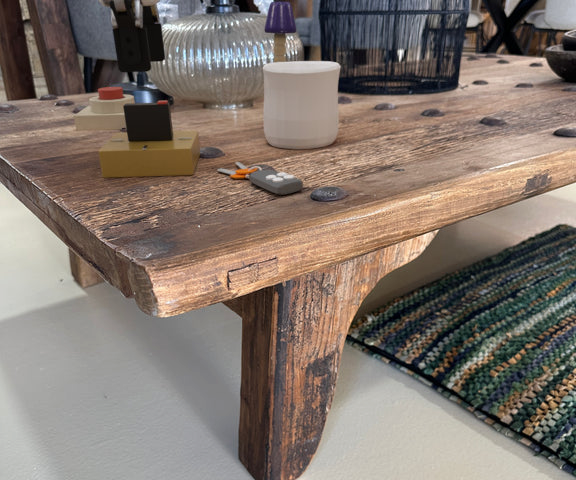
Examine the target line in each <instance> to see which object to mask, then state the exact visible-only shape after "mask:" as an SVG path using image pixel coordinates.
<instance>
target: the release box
mask: <svg viewBox="0 0 576 480" xmlns="http://www.w3.org/2000/svg"><path fill="white" fill-rule="evenodd" d="M123 96H124V98H122V99H116V100H100V99H99V95H97V96H92V97H90V98H89V99H88V104H89V105H87V106H86V107H84V108H83V109H82V110H80V111H79V112H77V113H75V114H74V115H73V120H74V127H75V131H106V130H107V131H110V130H123V129H122V128H124V127H126V122H125V115H124V108H123V106H124V105H125V104H127V103H136V101H135V96H134V95H131V94H125V93H123Z"/></svg>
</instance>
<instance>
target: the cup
mask: <svg viewBox="0 0 576 480" xmlns="http://www.w3.org/2000/svg"><path fill="white" fill-rule="evenodd" d="M341 68H342V66H341V64H340V63H338V62H335V61H329V60H326V61H325V60H297V61H286V62H275V63H274V62H268V63H266V64H264V65H263V66H262V72H263V93H264V96H263V110H262V116H263V117H262V118H263V119H262V120H263V133H264V137H265V139H266V141H267V143H268V144H269V145H270V146H272V147H276V148H279V149H286V150H311V149H318V148H319V149H320V148H323V147H327V146H330V145H332V144H333V143H334V142H335V141H336V139H337V137H338V133H339V124H340V123H339V122H340V121H339V118H340V112H339V111H340V110H339V95H338V94H339V92H338V91H339V80H340V72H341Z"/></svg>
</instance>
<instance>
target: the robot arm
mask: <svg viewBox="0 0 576 480" xmlns="http://www.w3.org/2000/svg"><path fill="white" fill-rule="evenodd" d="M159 2H160V0H98V3H99V4H101V6H103V7H104V8H109V9H110V12H111V13H110V20H111V21H110V22H111V26H112V29H111V30H112V35H113V36H112V37H113V42H114V48H115V54H116V61H117V68H118V71H119V72H120V73H145V72H150V71H151V70H152V63H154V62H156V63H157V62H163V61H165V60H166V53H165V52H166V51H165V45H164V36H163V35H164V34H163V28H162V22H161V17H160V13H159V12H160V11H159V7H158V3H159Z"/></svg>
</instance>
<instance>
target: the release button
mask: <svg viewBox="0 0 576 480" xmlns="http://www.w3.org/2000/svg"><path fill="white" fill-rule="evenodd" d="M97 92H98V93H97V94H98V96H99V99H100V100H116V99H122V98H124V96H123V94H124V90H123V87H122V86H105V87H100V88H98V89H97Z"/></svg>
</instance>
